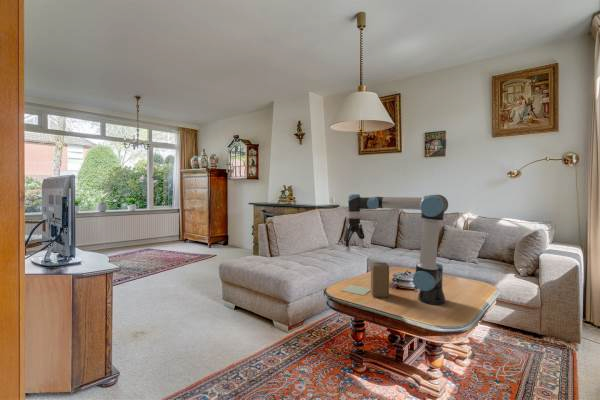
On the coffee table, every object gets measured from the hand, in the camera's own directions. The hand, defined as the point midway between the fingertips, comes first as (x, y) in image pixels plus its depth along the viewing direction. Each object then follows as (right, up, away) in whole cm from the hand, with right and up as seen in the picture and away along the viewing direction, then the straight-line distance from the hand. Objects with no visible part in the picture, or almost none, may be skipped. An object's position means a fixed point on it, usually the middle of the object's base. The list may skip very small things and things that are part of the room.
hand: (354, 250), depth 206 cm
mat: (+2, -27, +3) cm, 28 cm away
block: (+15, -28, -6) cm, 32 cm away
